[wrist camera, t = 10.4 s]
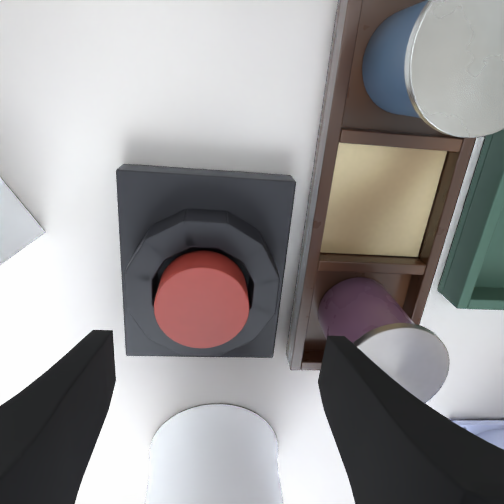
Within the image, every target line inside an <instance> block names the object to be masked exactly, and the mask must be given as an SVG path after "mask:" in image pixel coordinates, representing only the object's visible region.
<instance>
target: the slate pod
mask: <svg viewBox="0 0 504 504" xmlns="http://www.w3.org/2000/svg"><path fill="white" fill-rule="evenodd" d="M362 75H363V82H364V86H365V88H366V91H367V93H368V95H369V97H370V98H371V99H372V101H373V102H374V103H375V104H376V105H377V106H378V107H380V108H381V109H383V110H385V111H387V112H389V113H393V114H399V115H405V116H411V117H417V118H421V119H422V120H423V121H424V122H425V123H426V124H427V125H429V126H430V127H431V128H433V129H435V130H437V131H438V132H440V133H443V134H446V135H450V136H454V137H460V138H476V137H483V136H487V135H490V134H493V133H496V132H498V131H501V130H503V129H504V0H425V1H423V2H420V3H418V4H416V5H413V6H411V7H408V8H406V9H403V10H401V11H398V12H396V13H394V14H393V15H391V16H390V17H388V18H387V19H386V20H384V21H383V22H382V23H381V24H380V25H379V27H378V28H377V29H376V30H375V32H374V33H373V35H372V36H371V38H370V40H369V42H368V44H367V47H366V50H365V53H364V57H363V64H362Z"/></svg>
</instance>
